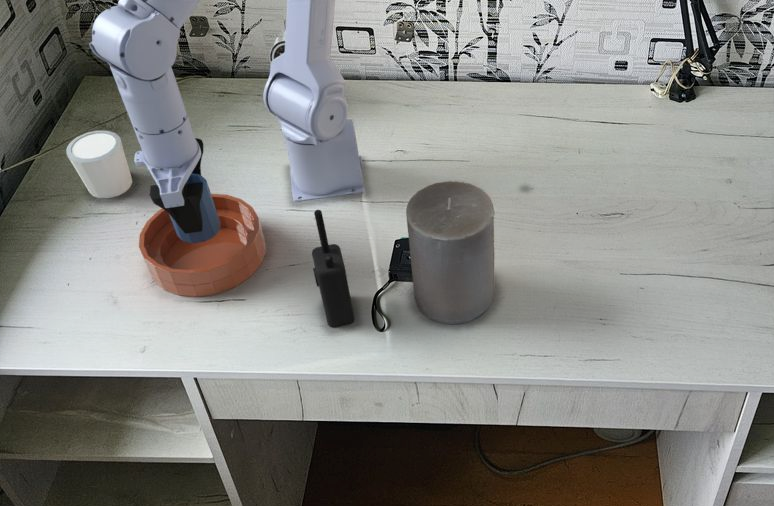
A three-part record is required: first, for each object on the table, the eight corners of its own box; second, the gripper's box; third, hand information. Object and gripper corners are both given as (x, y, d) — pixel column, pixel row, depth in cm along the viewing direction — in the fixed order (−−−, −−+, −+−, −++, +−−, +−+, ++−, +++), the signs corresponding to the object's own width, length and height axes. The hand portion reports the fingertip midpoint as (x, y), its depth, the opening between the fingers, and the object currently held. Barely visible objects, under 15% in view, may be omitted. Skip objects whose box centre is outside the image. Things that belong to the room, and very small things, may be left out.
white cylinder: (122, 207, 115) (104, 164, 110) (75, 200, 116) (55, 158, 111) (146, 174, 119) (130, 132, 114) (101, 168, 120) (82, 126, 115)
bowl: (264, 213, 114) (257, 186, 111) (268, 289, 105) (260, 262, 102) (153, 229, 112) (142, 202, 109) (147, 307, 103) (135, 281, 100)
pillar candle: (418, 266, 107) (408, 170, 96) (497, 268, 107) (496, 171, 96) (410, 324, 101) (399, 229, 90) (493, 326, 101) (492, 231, 90)
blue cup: (220, 212, 107) (206, 170, 102) (220, 239, 103) (206, 197, 99) (177, 218, 106) (162, 176, 101) (176, 246, 103) (160, 204, 98)
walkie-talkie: (356, 325, 101) (337, 229, 90) (327, 331, 100) (305, 236, 89) (349, 296, 104) (330, 200, 93) (321, 302, 103) (299, 206, 92)
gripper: (125, 86, 97) (161, 181, 107) (116, 165, 88) (156, 261, 98) (190, 78, 98) (219, 173, 108) (187, 155, 89) (220, 251, 99)
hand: (193, 214), depth 103 cm, fingers closed on blue cup, 5 cm apart
